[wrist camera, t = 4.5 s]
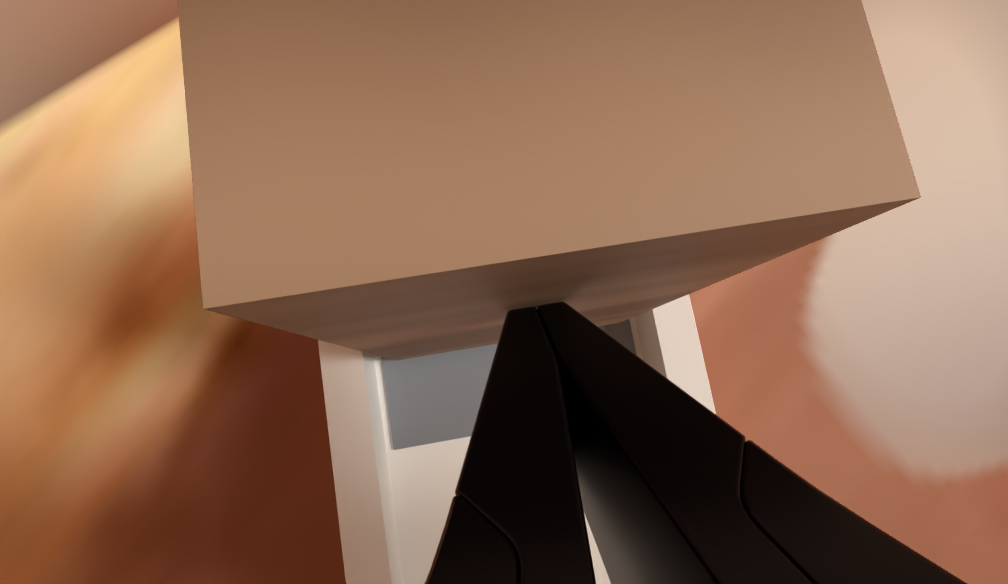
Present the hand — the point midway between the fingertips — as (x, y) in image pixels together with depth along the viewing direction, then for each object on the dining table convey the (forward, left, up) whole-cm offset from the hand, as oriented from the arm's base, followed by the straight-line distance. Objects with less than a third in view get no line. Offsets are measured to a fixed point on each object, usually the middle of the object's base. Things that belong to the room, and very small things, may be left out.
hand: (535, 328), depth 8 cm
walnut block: (+2, 0, -6) cm, 7 cm away
